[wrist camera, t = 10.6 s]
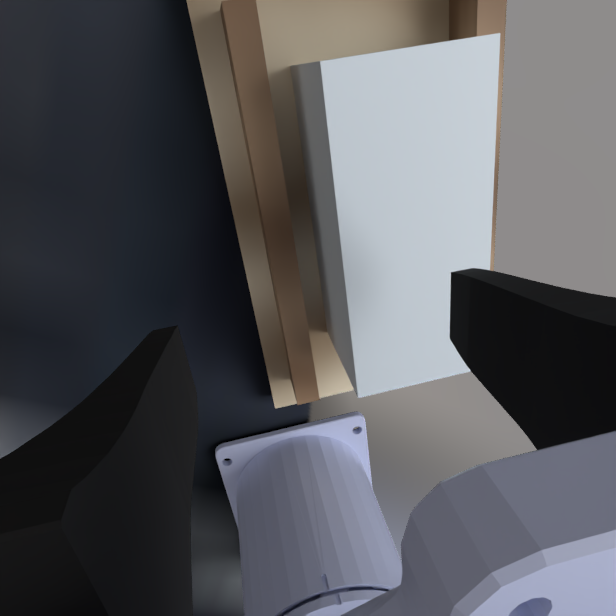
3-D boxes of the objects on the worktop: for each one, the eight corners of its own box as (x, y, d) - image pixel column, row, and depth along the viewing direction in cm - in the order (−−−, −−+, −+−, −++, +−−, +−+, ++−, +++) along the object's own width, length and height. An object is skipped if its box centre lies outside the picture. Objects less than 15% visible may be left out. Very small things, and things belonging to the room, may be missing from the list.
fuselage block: (430, 309, 22) (485, 367, 18) (327, 332, 22) (358, 398, 17) (424, 44, 17) (500, 32, 13) (290, 66, 16) (320, 61, 12)
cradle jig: (475, 349, 25) (507, 381, 22) (272, 396, 24) (280, 436, 21) (489, -76, 17) (542, -105, 14) (178, -36, 15) (173, -59, 13)
